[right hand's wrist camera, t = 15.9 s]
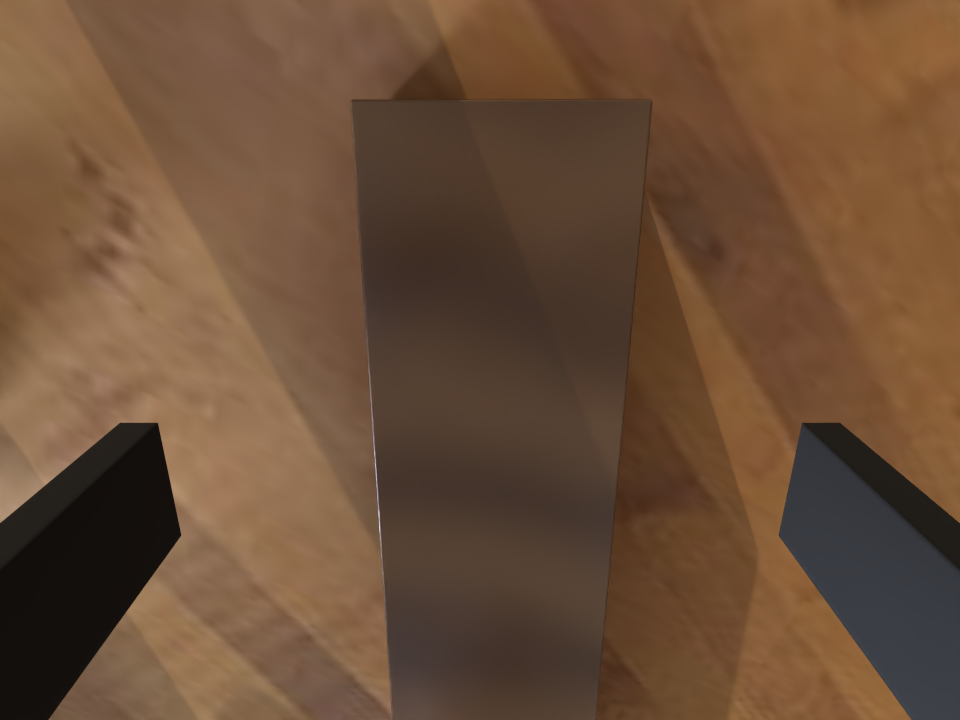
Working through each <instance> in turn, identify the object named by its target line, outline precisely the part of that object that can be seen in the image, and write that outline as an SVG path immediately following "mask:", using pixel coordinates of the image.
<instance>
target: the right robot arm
mask: <svg viewBox="0 0 960 720" xmlns="http://www.w3.org/2000/svg"><path fill="white" fill-rule="evenodd" d="M180 537H181V532H180V527H179V522H178V517H177V513H176V508H175V503H174V498H173V494H172V489H171V484H170V479H169V474H168V470H167V465H166V460H165V455H164V450H163V446H162V441H161V436H160V431H159V427H158V423H119V424H118V425H117V426H116V427H115V428H114V429H112V430H111V431H110V432H109V433H108V434H106V435H105V436H104V437H103V438H102V439H100V440H99V441H98V442H97V443H96V444H94V445H93V446H92V447H91V448H90V449H88V450H87V451H86V452H85V453H84V454H82V455H81V456H80V457H79V458H78V459H77V460H75V461H74V462H73V463H72V464H71V465H69V466H68V467H67V468H66V469H65V470H63V471H62V472H61V473H60V474H59V475H57V476H56V477H55V478H54V479H53V480H51V481H50V482H49V483H48V484H47V485H45V486H44V487H43V488H42V489H41V490H40V491H38V492H37V493H36V494H35V495H34V496H32V497H31V498H30V499H29V500H28V501H26V502H25V503H24V504H23V505H22V506H20V507H19V508H18V509H17V510H16V511H14V512H13V513H12V514H11V515H10V516H8V517H7V518H6V519H5V520H4V521H2V522H1V523H0V720H48V719H49V718H50V717H51V715H52V714H53V712H54V711H55V710H56V708H57V707H58V706H59V704H60V703H61V701H62V700H63V699H64V697H65V696H66V694H67V693H68V692H69V690H70V689H71V688H72V686H73V685H74V683H75V682H76V681H77V679H78V678H79V676H80V675H81V674H82V672H83V671H84V670H85V668H86V667H87V665H88V664H89V663H90V661H91V660H92V658H93V657H94V656H95V654H96V653H97V652H98V650H99V649H100V647H101V646H102V645H103V643H104V642H105V640H106V639H107V638H108V636H109V635H110V634H111V632H112V631H113V629H114V628H115V627H116V625H117V624H118V622H119V621H120V620H121V618H122V617H123V615H124V614H125V613H126V611H127V610H128V609H129V607H130V606H131V604H132V603H133V602H134V600H135V599H136V597H137V596H138V595H139V593H140V592H141V591H142V589H143V588H144V586H145V585H146V584H147V582H148V581H149V579H150V578H151V577H152V575H153V574H154V573H155V571H156V570H157V568H158V567H159V566H160V564H161V563H162V561H163V560H164V559H165V557H166V556H167V555H168V553H169V552H170V550H171V549H172V548H173V546H174V545H175V543H176V542H177V541H178V539H179V538H180ZM779 537H780V538H781V539H782V541H783V542H784V543H785V545H786V546H787V548H788V549H789V550H790V552H791V553H792V555H793V556H794V557H795V559H796V560H797V561H798V563H799V564H800V566H801V567H802V568H803V570H804V571H805V573H806V574H807V575H808V577H809V578H810V579H811V581H812V582H813V584H814V585H815V586H816V588H817V589H818V591H819V592H820V593H821V595H822V596H823V597H824V599H825V600H826V602H827V603H828V604H829V606H830V607H831V609H832V610H833V611H834V613H835V614H836V616H837V617H838V618H839V620H840V621H841V622H842V624H843V625H844V627H845V628H846V629H847V631H848V632H849V634H850V635H851V636H852V638H853V639H854V640H855V642H856V643H857V645H858V646H859V647H860V649H861V650H862V652H863V653H864V654H865V656H866V657H867V658H868V660H869V661H870V663H871V664H872V665H873V667H874V668H875V670H876V671H877V672H878V674H879V675H880V676H881V678H882V679H883V681H884V682H885V683H886V685H887V686H888V688H889V689H890V690H891V692H892V693H893V694H894V696H895V697H896V699H897V700H898V701H899V703H900V704H901V706H902V707H903V708H904V710H905V711H906V713H907V714H908V715H909V717H910V718H911V719H912V720H960V523H959V522H957V521H956V520H955V519H954V518H953V517H952V516H950V515H949V514H948V513H947V512H946V511H944V510H943V509H942V508H941V507H940V506H938V505H937V504H936V503H935V502H934V501H932V500H931V499H930V498H929V497H928V496H926V495H925V494H924V493H923V492H922V491H920V490H919V489H918V488H917V487H916V486H915V485H913V484H912V483H911V482H910V481H909V480H907V479H906V478H905V477H904V476H903V475H901V474H900V473H899V472H898V471H897V470H895V469H894V468H893V467H892V466H891V465H889V464H888V463H887V462H886V461H885V460H883V459H882V458H881V457H880V456H879V455H878V454H876V453H875V452H874V451H873V450H872V449H870V448H869V447H868V446H867V445H866V444H864V443H863V442H862V441H861V440H860V439H858V438H857V437H856V436H855V435H854V434H852V433H851V432H850V431H849V430H848V429H846V428H845V427H844V426H843V425H842V424H841V423H802V426H801V431H800V436H799V441H798V446H797V450H796V455H795V460H794V465H793V470H792V474H791V479H790V484H789V489H788V494H787V498H786V503H785V508H784V513H783V517H782V522H781V527H780V532H779Z"/></svg>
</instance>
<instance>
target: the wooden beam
mask: <svg viewBox="0 0 960 720" xmlns="http://www.w3.org/2000/svg"><path fill="white" fill-rule="evenodd" d="M350 108H351V123H352V137H353V152H354V167H355V181H356V196H357V210H358V225H359V240H360V254H361V269H362V284H363V298H364V313H365V327H366V342H367V357H368V371H369V386H370V401H371V415H372V430H373V444H374V459H375V474H376V488H377V503H378V517H379V532H380V547H381V561H382V576H383V591H384V605H385V620H386V634H387V649H388V664H389V678H390V693H391V708H392V720H596V715H597V704H598V693H599V682H600V671H601V660H602V649H603V638H604V627H605V616H606V605H607V594H608V583H609V572H610V561H611V550H612V539H613V529H614V518H615V507H616V496H617V485H618V474H619V463H620V452H621V441H622V430H623V419H624V408H625V397H626V386H627V375H628V364H629V353H630V342H631V331H632V320H633V309H634V298H635V287H636V276H637V265H638V254H639V243H640V232H641V221H642V210H643V199H644V188H645V177H646V166H647V155H648V144H649V133H650V122H651V111H652V100H650V99H436V100H351V101H350Z"/></svg>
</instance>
